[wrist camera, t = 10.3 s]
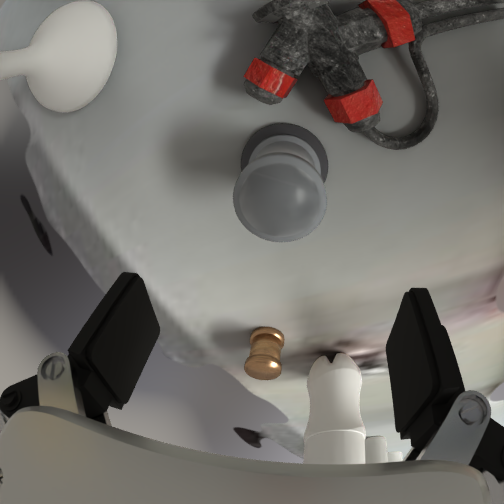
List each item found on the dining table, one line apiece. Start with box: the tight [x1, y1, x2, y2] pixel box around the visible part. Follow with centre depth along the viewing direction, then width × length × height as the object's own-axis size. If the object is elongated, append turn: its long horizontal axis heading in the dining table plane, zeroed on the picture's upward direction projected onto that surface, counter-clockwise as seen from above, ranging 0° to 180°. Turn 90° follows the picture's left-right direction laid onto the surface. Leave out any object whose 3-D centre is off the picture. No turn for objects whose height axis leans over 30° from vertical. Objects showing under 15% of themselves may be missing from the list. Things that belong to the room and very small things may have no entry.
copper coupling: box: [244, 327, 284, 380], centre depth 34 cm, size 4×4×5 cm
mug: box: [365, 436, 388, 464], centre depth 49 cm, size 10×7×12 cm, turn 35°
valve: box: [244, 0, 504, 150], centre depth 16 cm, size 6×26×15 cm
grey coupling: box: [233, 134, 327, 242], centre depth 21 cm, size 6×6×7 cm
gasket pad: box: [241, 123, 328, 182], centre depth 24 cm, size 7×7×1 cm
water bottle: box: [303, 353, 366, 464], centre depth 28 cm, size 7×7×25 cm
